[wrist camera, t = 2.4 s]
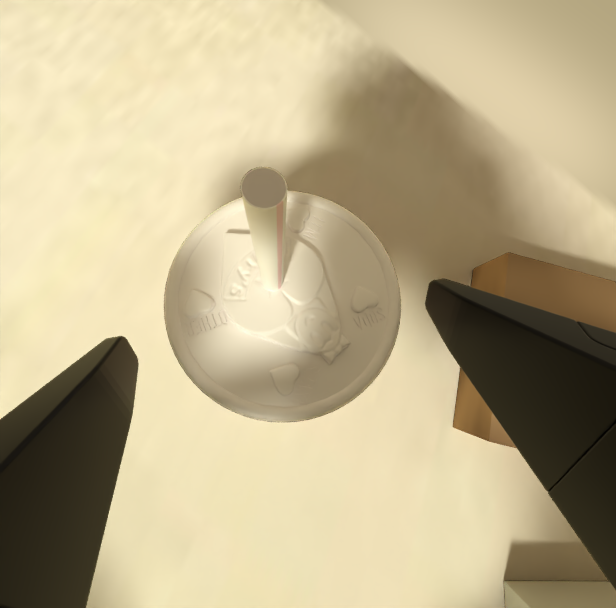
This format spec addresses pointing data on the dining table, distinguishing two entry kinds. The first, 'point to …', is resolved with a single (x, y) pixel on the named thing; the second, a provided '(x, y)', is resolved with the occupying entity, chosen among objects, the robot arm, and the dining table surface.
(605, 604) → the grey tile
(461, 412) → the walnut block
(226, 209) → the smoothie
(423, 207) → the dining table surface
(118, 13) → the dining table surface
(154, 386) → the dining table surface
